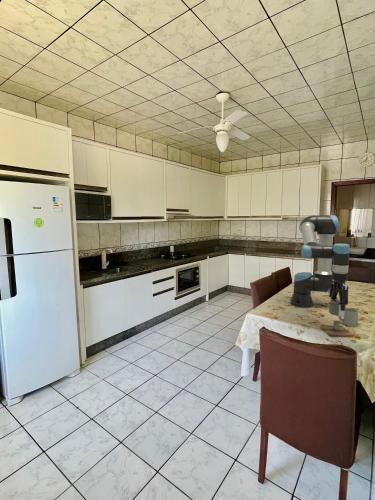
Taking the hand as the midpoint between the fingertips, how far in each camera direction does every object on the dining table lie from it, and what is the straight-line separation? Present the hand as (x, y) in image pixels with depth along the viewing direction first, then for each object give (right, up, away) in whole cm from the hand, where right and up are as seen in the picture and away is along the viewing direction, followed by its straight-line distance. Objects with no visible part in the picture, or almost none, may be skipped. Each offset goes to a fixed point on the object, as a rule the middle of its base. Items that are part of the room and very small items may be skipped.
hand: (337, 313), depth 142 cm
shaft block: (0, -11, +2) cm, 11 cm away
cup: (+13, -10, +12) cm, 20 cm away
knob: (0, 0, 0) cm, 0 cm away
